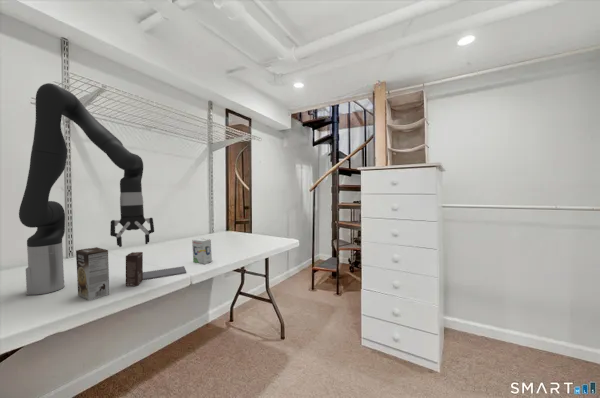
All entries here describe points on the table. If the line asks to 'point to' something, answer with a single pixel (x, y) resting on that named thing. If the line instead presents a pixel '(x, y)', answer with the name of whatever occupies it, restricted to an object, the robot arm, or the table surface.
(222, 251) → the table surface
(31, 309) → the table surface
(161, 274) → the mat
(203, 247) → the ink box
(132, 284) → the box
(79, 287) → the coffee box
